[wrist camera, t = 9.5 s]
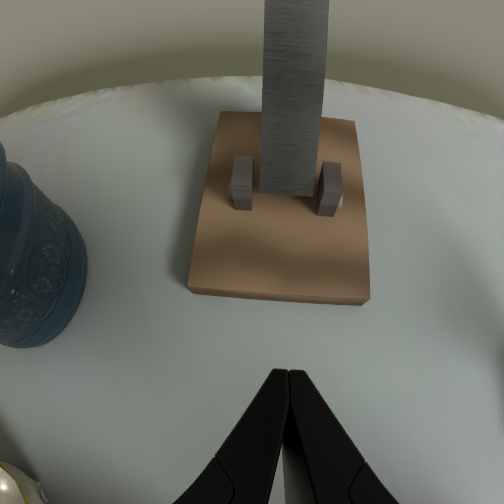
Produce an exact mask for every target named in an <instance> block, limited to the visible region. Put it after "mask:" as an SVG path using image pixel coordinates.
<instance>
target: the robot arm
mask: <svg viewBox="0 0 504 504" xmlns="http://www.w3.org/2000/svg"><path fill="white" fill-rule="evenodd" d="M281 445H282V458H283V472H284V487H285V502H286V504H399V503H398V501H397V500H396V499H395V498H394V497H393V496H392V495H391V494H390V492H389V491H388V490H387V489H386V488H385V487H384V485H383V484H382V483H381V481H380V480H379V479H378V477H377V476H376V475H375V473H374V472H373V471H372V469H371V468H370V466H369V465H368V463H367V462H365V459H364V458H363V456H362V455H361V453H360V452H359V450H358V449H357V448H356V446H355V445H354V443H353V442H352V440H351V439H350V437H349V436H348V434H347V433H346V431H345V430H344V428H343V427H342V426H341V424H340V423H339V421H338V420H337V418H336V417H335V415H334V414H333V412H332V411H331V409H330V408H329V406H328V405H327V403H326V402H325V400H324V399H323V397H322V396H321V394H320V393H319V391H318V390H317V388H316V387H315V385H314V384H313V382H312V381H311V379H310V378H309V376H308V375H307V373H306V372H305V371H304V370H289V372H288V370H287V369H273V370H272V371H271V372H270V374H269V375H268V377H267V379H266V380H265V382H264V383H263V385H262V386H261V388H260V389H259V391H258V393H257V394H256V396H255V397H254V399H253V400H252V402H251V403H250V405H249V406H248V408H247V409H246V411H245V412H244V414H243V415H242V417H241V418H240V420H239V421H238V423H237V424H236V426H235V427H234V429H233V430H232V432H231V433H230V434H229V436H228V437H227V439H226V440H225V442H224V443H223V444H222V446H221V447H220V449H219V450H218V451H217V453H216V454H215V457H214V458H212V459H211V461H210V462H209V464H208V465H207V466H206V468H205V469H204V470H203V471H202V473H201V474H200V475H199V476H198V478H197V479H196V480H195V481H194V483H193V484H192V485H191V486H190V487H189V488H188V489H187V490H186V491H185V492H184V493H183V494H182V495H181V496H180V497H179V498H178V499H177V500H176V501H175V502H174V503H173V504H268V501H269V497H270V493H271V489H272V485H273V481H274V477H275V472H276V468H277V463H278V459H279V454H280V450H281ZM364 462H365V463H364Z"/></svg>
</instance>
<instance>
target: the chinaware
mask: <svg viewBox="0 0 504 504" xmlns="http://www.w3.org/2000/svg"><path fill="white" fill-rule="evenodd" d="M40 484H41V483H40V482H36V481H35V480H33V479H32V478H30V477H28V476H27V475H26V473H24V472H23V471H21V470H20V469H18V468H17V467H15V466H13V465H11V464H8V463H5V462H2V461H0V504H45V501H48V500H47V499H46V498H45V495H44V492H43V490H42V488H41V486H40Z"/></svg>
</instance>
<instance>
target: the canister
mask: <svg viewBox="0 0 504 504" xmlns="http://www.w3.org/2000/svg"><path fill="white" fill-rule="evenodd" d="M86 276H87V255H86V249H85V245H84V242H83V239H82V237H81V235H80V233H79V231H78V230H77V227H76V225H75V224H74V222H73V221H72V219H71V218H70V217H69V216H68V215H67V214H66V213H65V212H64V211H63V210H62V209H61V208H60V207H59V206H57V205H55V204H53V203H52V202H51V201H50V200H49V199H48V198H47V197H46V196H45V195H44V194H43V192H42V191H41V190H40V189H39V188H38V187H37V186H36V185H35V184H34V183H33V182H32V181H31V179H30V177H29V175H28V173H27V172H26V170H25V169H24V168H22V167H21V166H20V165H18V164H15V163H11V162H7V161H6V154H5V150H4V147H3V145H2V144H1V142H0V344H2V345H4V346H8V347H13V348H31V347H38V346H41V345H44V344H46V343H48V342H49V341H51V340H53V339H54V338H55V337H56V336H58V335H59V334H60V333H61V332H62V331H63V330H64V328H65V327H66V326H67V325H68V323H69V322H70V320H71V319H72V317H73V315H74V314H75V312H76V310H77V308H78V305H79V303H80V300H81V298H82V295H83V291H84V287H85V282H86Z"/></svg>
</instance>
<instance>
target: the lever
mask: <svg viewBox="0 0 504 504" xmlns="http://www.w3.org/2000/svg"><path fill="white" fill-rule="evenodd" d="M328 13H329V0H265V13H264V14H265V15H264V53H263V88H262V123H261V155H260V186H259V193H270V194H285V195H298V196H310V197H312V196H313V188H314V180H315V171H316V163H317V154H318V144H319V135H320V125H321V114H322V103H323V92H324V79H325V66H326V50H327V34H328V33H327V32H328Z"/></svg>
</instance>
